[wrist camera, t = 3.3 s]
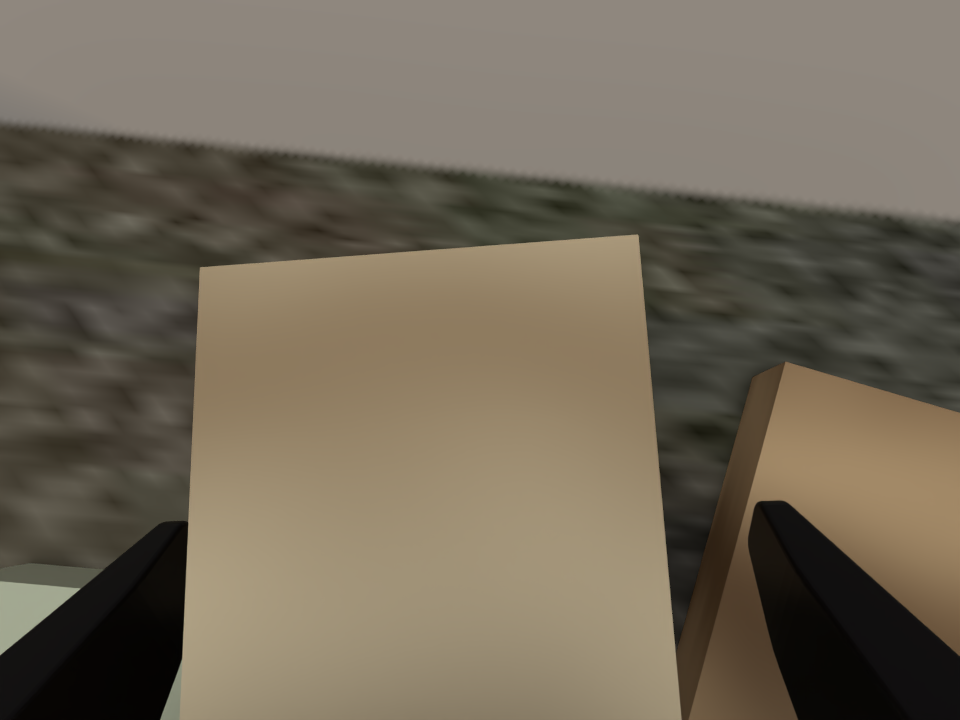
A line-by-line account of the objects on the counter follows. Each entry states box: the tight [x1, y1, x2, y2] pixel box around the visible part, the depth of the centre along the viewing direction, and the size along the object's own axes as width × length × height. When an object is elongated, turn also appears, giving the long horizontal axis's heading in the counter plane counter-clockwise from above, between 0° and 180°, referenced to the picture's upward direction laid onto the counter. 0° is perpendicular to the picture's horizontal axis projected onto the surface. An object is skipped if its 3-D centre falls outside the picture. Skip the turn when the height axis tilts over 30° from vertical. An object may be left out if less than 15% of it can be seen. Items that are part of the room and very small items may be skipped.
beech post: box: [180, 235, 682, 720], centre depth 12 cm, size 5×5×12 cm
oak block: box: [676, 362, 960, 720], centre depth 15 cm, size 12×12×3 cm
